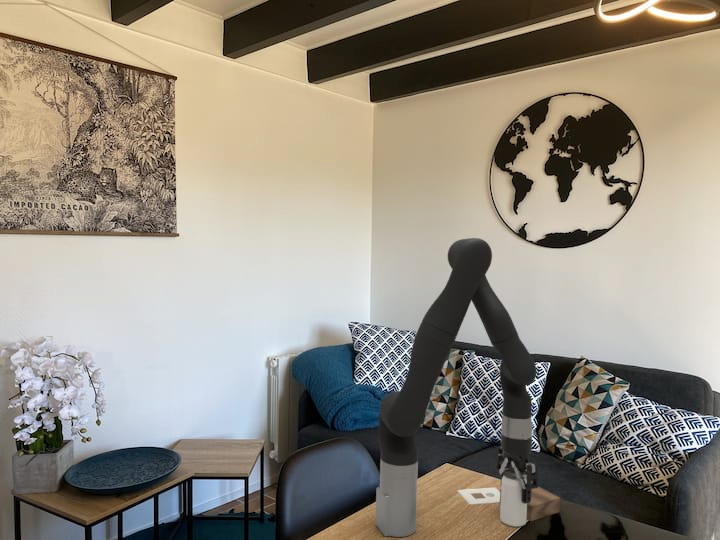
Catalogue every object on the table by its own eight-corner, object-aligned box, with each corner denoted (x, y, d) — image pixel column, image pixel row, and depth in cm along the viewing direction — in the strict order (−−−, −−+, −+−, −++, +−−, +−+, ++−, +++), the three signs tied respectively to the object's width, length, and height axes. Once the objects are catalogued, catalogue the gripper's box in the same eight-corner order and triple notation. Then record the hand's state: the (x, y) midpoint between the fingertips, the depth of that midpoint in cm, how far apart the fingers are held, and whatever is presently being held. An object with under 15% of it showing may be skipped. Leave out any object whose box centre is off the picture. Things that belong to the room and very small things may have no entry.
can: (527, 529, 136) (529, 481, 135) (500, 525, 137) (502, 478, 137) (524, 517, 142) (526, 471, 142) (499, 514, 143) (501, 469, 143)
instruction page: (470, 505, 148) (470, 504, 148) (456, 490, 157) (456, 490, 157) (510, 501, 151) (510, 500, 151) (495, 488, 159) (495, 487, 159)
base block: (531, 521, 140) (531, 506, 140) (499, 503, 149) (500, 488, 149) (559, 512, 145) (560, 497, 145) (527, 495, 155) (528, 481, 155)
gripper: (487, 426, 144) (486, 486, 145) (522, 443, 131) (520, 510, 131) (511, 423, 147) (510, 482, 147) (547, 440, 134) (546, 505, 134)
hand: (515, 495), depth 139 cm, fingers open, 8 cm apart
